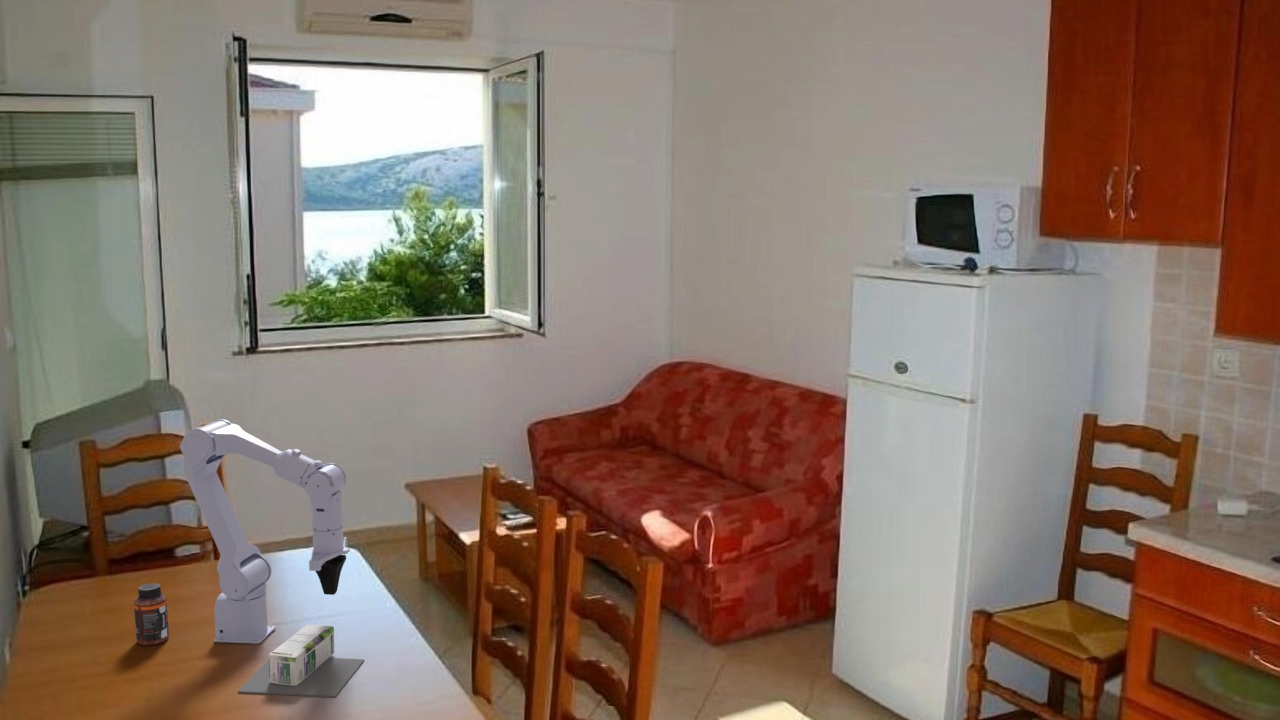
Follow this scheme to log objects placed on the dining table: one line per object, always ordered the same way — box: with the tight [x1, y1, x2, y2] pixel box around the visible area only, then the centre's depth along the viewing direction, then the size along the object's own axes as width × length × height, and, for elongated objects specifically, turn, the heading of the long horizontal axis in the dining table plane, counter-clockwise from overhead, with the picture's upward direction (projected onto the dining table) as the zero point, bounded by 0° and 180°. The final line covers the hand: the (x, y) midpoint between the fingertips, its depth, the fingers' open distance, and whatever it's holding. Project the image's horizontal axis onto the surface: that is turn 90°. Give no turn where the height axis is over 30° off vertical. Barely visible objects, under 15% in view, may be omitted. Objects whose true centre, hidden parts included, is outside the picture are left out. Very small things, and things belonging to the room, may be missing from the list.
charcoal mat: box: [237, 657, 365, 698], centre depth 197 cm, size 18×15×1 cm
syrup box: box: [267, 623, 335, 686], centre depth 200 cm, size 6×6×14 cm
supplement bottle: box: [133, 582, 170, 646], centre depth 212 cm, size 6×6×11 cm
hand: (330, 593), depth 210 cm, fingers closed
